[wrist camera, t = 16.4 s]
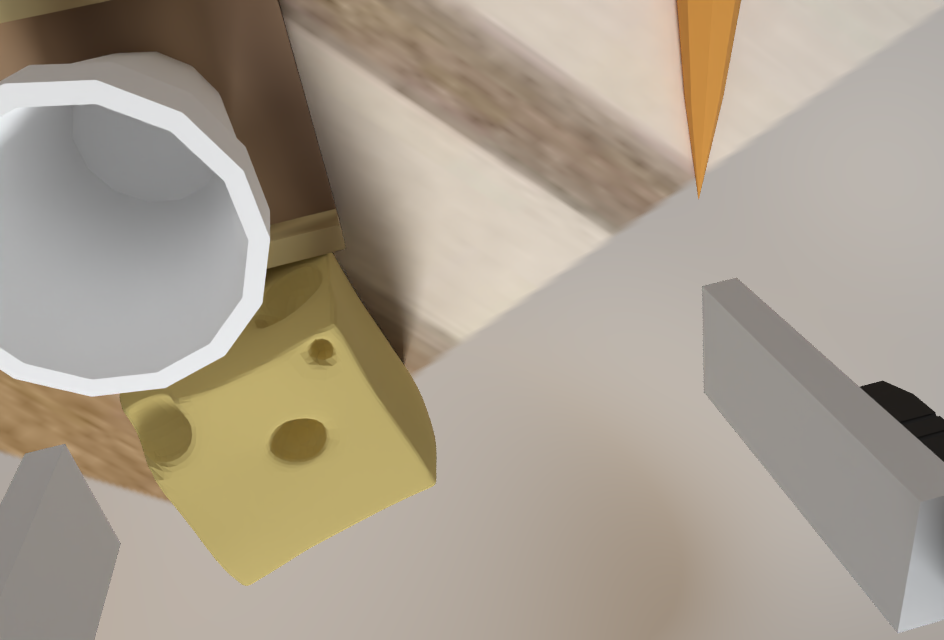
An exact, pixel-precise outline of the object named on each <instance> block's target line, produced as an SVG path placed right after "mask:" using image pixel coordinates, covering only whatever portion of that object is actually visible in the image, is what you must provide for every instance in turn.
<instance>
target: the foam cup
mask: <svg viewBox="0 0 944 640" xmlns="http://www.w3.org/2000/svg"><path fill="white" fill-rule="evenodd" d="M269 244H270V209H269V206H268V204H267V201H266V199H265V196H264V193H263V191H262V188H261V186H260V183H259V180H258V178H257V175H256V173H255V170H254V167H253V165H252V162H251V160H250V157H249V154H248V152H247V149H246V147H245V146H244V145H243V144H242V143H241V142H240V141H239V140H238V139H237V138H236V135H235V133H234V130H233V127H232V125H231V122H230V119H229V117H228V114H227V112H226V109H225V107H224V104H223V101H222V99H221V96H220V94H219V92H218V91H217V90H216V89H215V88H214V87H213V86H212V85H211V84H210V83H209V82H208V81H207V80H206V79H205V78H204V77H203V76H202V75H201V74H200V73H199V72H198V71H197V70H196V69H195V68H194V67H193V66H191V65H188V64H186V63H183V62H181V61H178V60H176V59H173V58H171V57H169V56H166V55H164V54H161V53H159V52H130V53H114V54H110V55H106V56H101V57H97V58H93V59H88V60H84V61H80V62H75V63H71V64H45V65H28V66H26V67H25V68H23V69H21V70H19V71H18V72H16V73H14V74H12V75H10V76H9V77H7V78H5V79H3V80H1V81H0V370H2V371H3V372H5V373H6V374H8V375H10V376H11V377H13V378H14V379H18V380H22V381H27V382H31V383H35V384H40V385H44V386H48V387H53V388H57V389H61V390H66V391H70V392H74V393H79V394H83V395H87V396H91V397H92V396H101V395H109V394H118V393H127V392H135V391H144V390H153V389H161V388H166V387H168V386H170V385H172V384H174V383H175V382H177V381H179V380H181V379H183V378H185V377H187V376H188V375H190V374H192V373H194V372H196V371H198V370H199V369H201V368H203V367H205V366H207V365H209V364H210V363H212V362H214V361H216V360H218V359H220V358H222V357H223V356H225V355H226V354H227V352H228V351H229V349H230V348H231V347H232V345H233V344H234V342H235V341H236V340H237V338H238V337H239V335H240V334H241V333H242V331H243V330H244V329H245V327H246V326H247V324H248V323H249V322H250V320H251V319H252V317H253V316H254V315H255V313H256V312H257V310H258V309H259V308H260V306H261V305H262V303H263V294H264V286H265V278H266V269H267V261H268V253H269Z"/></svg>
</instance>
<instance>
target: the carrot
mask: <svg viewBox="0 0 944 640" xmlns="http://www.w3.org/2000/svg"><path fill="white" fill-rule="evenodd" d="M740 3H741V0H677V7H678V19H679V32H680V44H681V57H682V70H683V82H684V95H685V104H686V112H687V119H688V126H689V134H690V141H691V148H692V156H693V163H694V170H695V178H696V185H697V192H698V198H699V196H700V192H701V188H702V183H703V179H704V175H705V171H706V167H707V162H708V158H709V154H710V150H711V146H712V141H713V137H714V133H715V129H716V125H717V120H718V116H719V112H720V108H721V104H722V99H723V95H724V90H725V84H726V79H727V73H728V68H729V63H730V57H731V52H732V46H733V41H734V36H735V30H736V25H737V19H738V14H739V9H740Z"/></svg>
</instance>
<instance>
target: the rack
mask: <svg viewBox="0 0 944 640" xmlns="http://www.w3.org/2000/svg"><path fill="white" fill-rule="evenodd" d="M130 52H159V53H161V54H164V55H166V56H169V57H171V58H173V59H176V60H178V61H181V62H183V63H186V64H188V65H191V66H193V67H194V68H195V69H196V70H197V71H198V72H199V73H200V74H201V75H202V76H203V77H204V78H205V79H206V80H207V81H208V82H209V83H210V84H211V85H212V86H213V87H214V88H215V89H216V90H217V91H218V92H219V94H220V96H221V99H222V101H223V104H224V107H225V109H226V112H227V114H228V117H229V119H230V122H231V125H232V127H233V130H234V133H235V135H236V138H237V139H238V140H239V141H240V142H241V143H242V144H243V145H244V146H245V147H246V149H247V152H248V154H249V157H250V160H251V162H252V165H253V167H254V170H255V173H256V175H257V178H258V180H259V183H260V186H261V188H262V191H263V193H264V196H265V199H266V201H267V204H268V206H269V209H270V244H269V253H268V261H267V269H268V268H272V267H276V266H280V265H284V264H288V263H292V262H296V261H300V260H304V259H308V258H312V257H316V256H320V255H324V254H328V253H332V252H336V251H340V250H343V249H346V247H345V242H344V238H343V233H342V229H341V224H340V220H339V216H338V213H337V209H336V205H335V202H334V198H333V195H332V191H331V187H330V184H329V180H328V177H327V173H326V170H325V166H324V162H323V159H322V155H321V152H320V148H319V145H318V141H317V137H316V134H315V130H314V127H313V123H312V119H311V116H310V112H309V109H308V105H307V102H306V98H305V94H304V91H303V87H302V84H301V80H300V77H299V73H298V69H297V66H296V62H295V59H294V55H293V51H292V48H291V44H290V41H289V37H288V34H287V30H286V26H285V23H284V19H283V16H282V12H281V9H280V5H279V1H278V0H0V81H1V80H3V79H5V78H7V77H9V76H10V75H12V74H14V73H16V72H18V71H19V70H21V69H23V68H25V67H26V66H28V65H45V64H71V63H75V62H80V61H84V60H88V59H93V58H97V57H101V56H106V55H110V54H114V53H130Z"/></svg>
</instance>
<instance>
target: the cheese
mask: <svg viewBox="0 0 944 640" xmlns="http://www.w3.org/2000/svg"><path fill="white" fill-rule="evenodd" d="M120 402H121V405H122V409H123V411H124V413H125V414H126V416H127V417H128V419H129V420H130V422H131V423H132V425H133V426H134V428H135V430H136V432H137V434H138V437H139V439H140V442H141V445H142V448H143V451H144V455H145V458H146V461H147V464H148V467H149V469H150V470H151V472H152V474H153V476H154V479H155V481H156V482H157V484H158V485H159V487H160V488H161V490H162V491H163V493H164V494H165V495H166V496H167V498H168V499H169V500H170V501H171V502H172V504H173V505H174V506H175V507H176V508H177V510H178V511H179V512H180V514H181V515H182V516H183V517H184V519H185V520H186V521H187V522H188V524H189V525H190V526H191V527H192V529H193V530H194V531H195V533H196V534H197V535H198V537H199V538H200V540H201V541H202V542H203V543H204V545H205V546H206V548H207V549H208V550H209V551H210V553H211V554H212V555H213V557H214V558H215V559H216V560H217V561H218V562H219V564H220V565H221V566H222V567H223V568H224V569H225V570H226V571H227V572H228V573H229V574H230V575H231V576H232V577H234V578H235V579H236V580H237V581H238V582H240V583H241V584H242V585H245V586H248V585H251V584H253V583H254V582H256V581H257V580H259V579H261V578H262V577H264V576H266V575H267V574H269V573H271V572H272V571H274V570H276V569H277V568H279V567H280V566H282V565H284V564H285V563H287V562H288V561H290V560H291V559H293V558H294V557H296V556H298V555H299V554H301V553H303V552H304V551H306V550H308V549H309V548H311V547H313V546H315V545H317V544H318V543H320V542H322V541H324V540H326V539H328V538H330V537H332V536H333V535H335V534H337V533H339V532H341V531H343V530H345V529H347V528H349V527H351V526H352V525H354V524H356V523H358V522H360V521H362V520H364V519H366V518H368V517H370V516H372V515H373V514H375V513H377V512H379V511H381V510H383V509H385V508H387V507H389V506H391V505H393V504H395V503H397V502H399V501H402V500H404V499H405V498H408V497H410V496H412V495H414V494H417V493H419V492H421V491H423V490H426V489H428V488H430V487H432V486H434V485H435V483H436V442H435V436H434V432H433V428H432V424H431V421H430V418H429V415H428V412H427V409H426V406H425V403H424V401H423V399H422V396H421V394H420V392H419V390H418V388H417V386H416V384H415V382H414V380H413V379H412V377H411V375H410V373H409V372H408V370H407V369H406V367H405V366H404V364H403V363H402V361H401V360H400V359H399V357H398V356H397V354H396V353H395V351H394V350H393V349H392V347H391V345H390V344H389V342H388V341H387V339H386V338H385V336H384V335H383V333H382V332H381V330H380V329H379V327H378V326H377V324H376V323H375V321H374V320H373V318H372V317H371V316H370V314H369V313H368V311H367V310H366V308H365V307H364V305H363V304H362V302H361V301H360V299H359V298H358V296H357V294H356V293H355V291H354V289H353V288H352V286H351V284H350V282H349V281H348V279H347V277H346V276H345V274H344V272H343V270H342V269H341V267H340V265H339V263H338V262H337V260H336V258H335V256H334V255H333V253H328V254H324V255H320V256H316V257H312V258H308V259H304V260H300V261H296V262H292V263H288V264H284V265H280V266H276V267H272V268H268V269H266V278H265V286H264V294H263V303H262V305H261V306H260V308H259V309H258V310H257V312H256V313H255V315H254V316H253V317H252V319H251V320H250V322H249V323H248V324H247V326H246V327H245V329H244V330H243V331H242V333H241V334H240V335H239V337H238V338H237V340H236V341H235V342H234V344H233V345H232V347H231V348H230V349H229V351H228V352H227V354H226V355H225V356H223V357H222V358H220V359H218V360H216V361H214V362H212V363H210V364H209V365H207V366H205V367H203V368H201V369H199V370H198V371H196V372H194V373H192V374H190V375H188V376H187V377H185V378H183V379H181V380H179V381H177V382H175V383H174V384H172V385H170V386H168V387H166V388H161V389H153V390H144V391H135V392H127V393H120Z"/></svg>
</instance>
